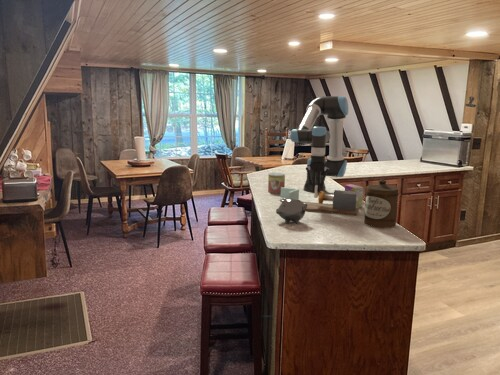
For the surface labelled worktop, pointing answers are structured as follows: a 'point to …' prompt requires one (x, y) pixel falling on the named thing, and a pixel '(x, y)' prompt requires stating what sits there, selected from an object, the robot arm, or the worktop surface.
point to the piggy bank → (291, 210)
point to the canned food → (276, 182)
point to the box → (359, 193)
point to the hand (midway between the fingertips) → (315, 197)
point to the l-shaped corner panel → (289, 193)
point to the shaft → (327, 197)
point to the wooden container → (381, 205)
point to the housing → (344, 200)
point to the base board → (327, 209)
